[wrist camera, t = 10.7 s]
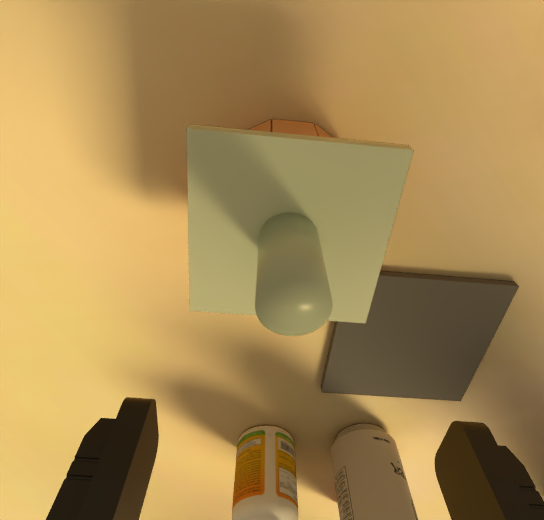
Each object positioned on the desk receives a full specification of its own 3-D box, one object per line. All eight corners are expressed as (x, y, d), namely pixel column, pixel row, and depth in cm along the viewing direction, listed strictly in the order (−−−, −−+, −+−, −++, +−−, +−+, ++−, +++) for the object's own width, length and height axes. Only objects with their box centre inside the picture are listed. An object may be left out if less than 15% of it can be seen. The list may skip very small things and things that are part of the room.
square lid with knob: (408, 145, 18) (463, 197, 13) (362, 314, 24) (389, 401, 18) (189, 124, 18) (155, 169, 13) (192, 301, 23) (168, 387, 18)
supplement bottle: (234, 455, 39) (224, 573, 31) (241, 420, 36) (232, 539, 28) (288, 460, 40) (292, 578, 31) (299, 426, 37) (307, 546, 29)
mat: (514, 281, 28) (518, 286, 28) (458, 395, 35) (460, 401, 34) (347, 268, 28) (349, 273, 27) (320, 386, 34) (321, 392, 34)
